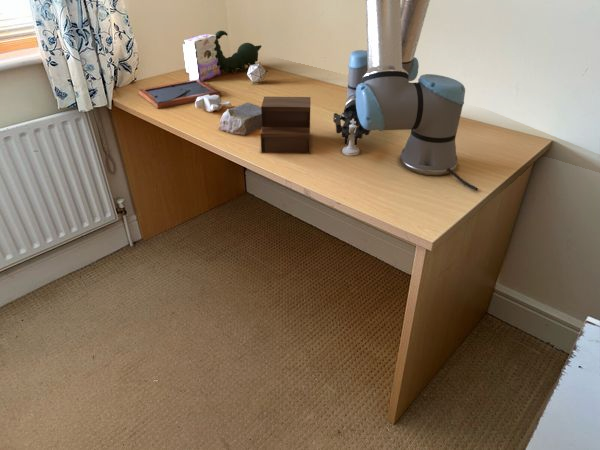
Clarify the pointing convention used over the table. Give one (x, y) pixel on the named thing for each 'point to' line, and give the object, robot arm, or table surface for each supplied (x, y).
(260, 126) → the geological specimen
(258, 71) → the game die
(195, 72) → the candy box
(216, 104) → the bunny figurine
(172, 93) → the picture frame
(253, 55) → the toy figurine
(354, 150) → the chess piece
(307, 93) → the table surface
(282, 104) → the step shelf
